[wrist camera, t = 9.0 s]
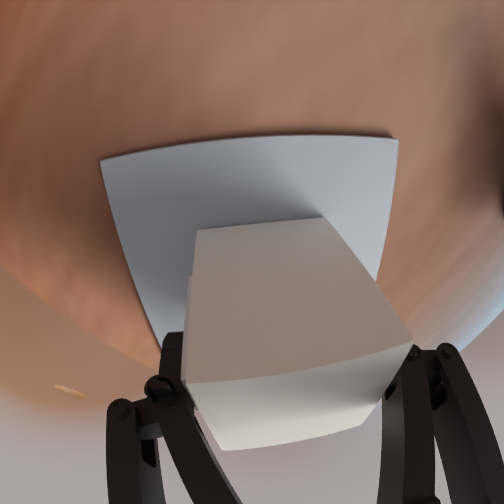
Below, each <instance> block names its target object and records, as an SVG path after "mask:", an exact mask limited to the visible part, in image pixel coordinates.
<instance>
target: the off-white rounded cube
mask: <svg viewBox="0 0 504 504" xmlns="http://www.w3.org/2000/svg"><path fill="white" fill-rule="evenodd" d="M414 341H415V340H414V338H413V337H412V335H411V334H410V332H409V330H408V329H407V327H406V326H405V324H404V323H403V321H402V320H401V318H400V317H399V315H398V314H397V312H396V311H395V309H394V308H393V306H392V305H391V303H390V302H389V301H388V299H387V298H386V296H385V295H384V293H383V292H382V291H381V289H380V288H379V286H378V285H377V284H376V282H375V281H374V279H373V278H372V277H371V275H370V274H369V273H368V271H367V270H366V268H365V267H364V266H363V264H362V263H361V262H360V260H359V259H358V258H357V256H356V255H355V254H354V253H353V251H352V250H351V249H350V247H349V246H348V245H347V244H346V242H345V241H344V240H343V238H342V237H341V236H340V235H339V233H338V232H337V231H336V230H335V228H334V227H333V226H332V225H331V223H330V222H329V221H328V220H327V219H326V217H322V218H310V219H299V220H288V221H277V222H267V223H257V224H247V225H238V226H229V227H220V228H211V229H202V230H197V234H196V243H195V252H194V262H193V272H192V283H191V295H190V308H189V323H188V340H187V360H186V386H187V388H188V390H189V392H190V394H191V396H192V398H193V399H194V401H195V403H196V405H197V407H198V409H199V411H200V413H201V415H202V417H203V418H204V420H205V422H206V424H207V426H208V427H209V429H210V431H211V433H212V434H213V436H214V438H215V439H216V441H217V443H218V445H219V446H220V448H221V450H222V451H228V450H241V449H251V448H259V447H266V446H273V445H279V444H285V443H290V442H295V441H301V440H306V439H310V438H314V437H319V436H323V435H327V434H331V433H335V432H338V431H342V430H345V429H349V428H352V427H355V426H358V425H361V424H362V423H363V422H364V421H365V419H366V418H367V417H368V415H369V414H370V412H371V411H372V410H373V408H374V407H375V405H376V404H377V403H378V401H379V400H380V398H381V397H382V395H383V394H384V392H385V391H386V389H387V388H388V386H389V384H390V383H391V381H392V380H393V378H394V377H395V375H396V373H397V372H398V370H399V368H400V367H401V365H402V363H403V361H404V360H405V358H406V356H407V354H408V353H409V351H410V349H411V347H412V345H413V343H414Z"/></svg>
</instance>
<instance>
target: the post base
mask: <svg viewBox="0 0 504 504" xmlns="http://www.w3.org/2000/svg"><path fill="white" fill-rule="evenodd" d="M398 143H399V140H398V139H395V138H388V137H375V136H360V135H334V134H293V135H267V136H250V137H238V138H227V139H217V140H208V141H200V142H192V143H185V144H178V145H172V146H166V147H160V148H154V149H149V150H144V151H139V152H134V153H129V154H124V155H120V156H115V157H111V158H107V159H103V160H102V161H100V165H101V170H102V175H103V179H104V183H105V188H106V192H107V196H108V200H109V204H110V207H111V211H112V215H113V219H114V222H115V226H116V229H117V232H118V236H119V239H120V242H121V245H122V248H123V252H124V255H125V258H126V261H127V264H128V267H129V269H130V272H131V275H132V278H133V281H134V283H135V286H136V289H137V291H138V294H139V297H140V299H141V302H142V304H143V307H144V309H145V312H146V314H147V317H148V319H149V321H150V324H151V326H152V328H153V331H154V333H155V335H156V337H157V340H158V342H159V344H160V346H161V348H162V342H163V339H164V338H165V336H166V334H167V333H168V332H180V331H184V321H185V309H186V298H187V288H188V278H189V276H190V275H192V272H193V262H194V252H195V243H196V234H197V230H202V229H211V228H220V227H229V226H238V225H247V224H257V223H267V222H277V221H288V220H299V219H310V218H322V217H326V219H327V220H328V221H329V222H330V223H331V225H332V226H333V227H334V228H335V230H336V231H337V232H338V233H339V235H340V236H341V237H342V238H343V240H344V241H345V242H346V244H347V245H348V246H349V247H350V249H351V250H352V251H353V253H354V254H355V255H356V256H357V258H358V259H359V260H360V262H361V263H362V264H363V266H364V267H365V268H366V270H367V271H368V273H369V274H370V275H371V277H372V278H373V279H374V281H376V277H377V273H378V269H379V265H380V261H381V256H382V252H383V247H384V242H385V237H386V232H387V227H388V221H389V216H390V210H391V203H392V197H393V190H394V182H395V174H396V165H397V155H398Z"/></svg>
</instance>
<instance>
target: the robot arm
mask: <svg viewBox="0 0 504 504" xmlns="http://www.w3.org/2000/svg"><path fill="white" fill-rule="evenodd" d="M191 283H192V275H190V276H189V278H188V288H187V298H186V309H185V321H184V331H180V332H168V333H167V334H166V336H165V338H164V339H163V342H162V351H161V359H160V366H159V375H155V376H153V377H151V378H150V379H149V380H148V381H147V382H146V384H145V387H144V392H145V394H146V396H147V398H145V399H142V400H138V401H135V402H131V401H129V400H127V399H122V398H121V399H116V400H114V401H113V402H112V403H111V404H110V405H109V406H108V410H107V422H106V466H107V467H106V468H107V486H108V498H109V504H166V501H165V496H164V490H163V483H162V476H161V469H160V460H159V452H158V441H157V438H160V437H163V436H164V439H165V441H166V444H167V446H168V449H169V451H170V454H171V456H172V459H173V461H174V463H175V466H176V468H177V470H178V472H179V475H180V477H181V479H182V481H183V483H184V485H185V487H186V489H187V491H188V493H189V495H190V497H191V499H192V501H193V503H194V504H243V503H242V502H241V500H240V499H239V497H238V496H237V494H236V492H235V491H234V489H233V487H232V486H231V484H230V483H229V481H228V479H227V477H226V475H225V474H224V472H223V470H222V468H221V466H220V465H219V463H218V461H217V459H216V457H215V455H214V453H213V452H212V450H211V448H210V446H209V444H208V442H207V440H206V438H205V436H204V434H203V432H202V430H201V427H200V425H199V423H198V421H197V419H196V417H195V415H194V407H195V409H196V410H199V409H198V407H197V405H196V403H195V401H194V399H193V398H192V396H191V394H190V392H189V390H188V388H187V386H186V360H187V340H188V323H189V308H190V295H191ZM434 436H435V439H436V442H437V446H438V449H439V453H440V456H441V460H442V464H443V468H444V472H445V476H446V481H447V485H448V489H449V495H450V499H451V503H452V504H504V463H503V460H502V456H501V453H500V450H499V446H498V443H497V440H496V437H495V434H494V431H493V428H492V426H491V423H490V420H489V418H488V415H487V413H486V410H485V408H484V405H483V403H482V400H481V398H480V396H479V394H478V391H477V389H476V387H475V385H474V382H473V380H472V378H471V376H470V374H469V372H468V370H467V368H466V366H465V364H464V362H463V360H462V358H461V356H460V354H459V352H458V350H457V349H456V348H455V346H453V345H452V344H449V343H442V344H440V345H439V346H438V347H437V349H436V350H421V349H420V348H419V347H418V346H416V345H414V344H413V345H412V347H411V349H410V351H409V353H408V354H407V356H406V358H405V360H404V361H403V363H402V365H401V367H400V368H399V370H398V372H397V373H396V375H395V377H394V378H393V380H392V381H391V383H390V384H389V386H388V388H387V389H386V391H385V392H384V394H383V395H382V449H381V467H380V479H379V490H378V498H377V504H441V503H440V500H439V499H438V498H437V497H436V496H435V445H434Z"/></svg>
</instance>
